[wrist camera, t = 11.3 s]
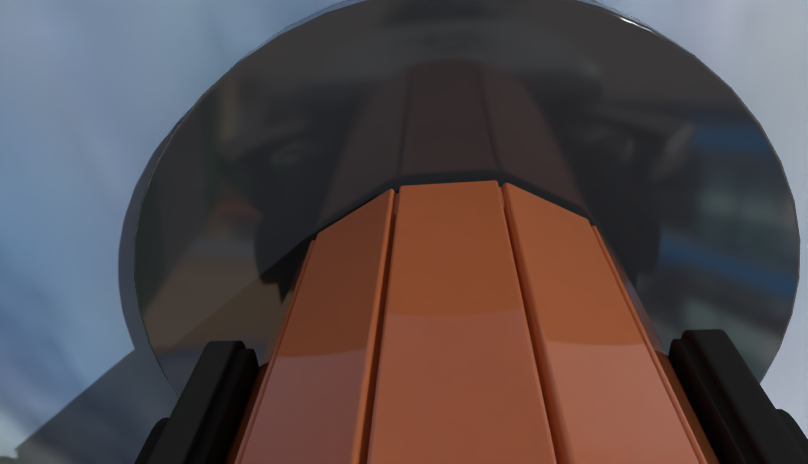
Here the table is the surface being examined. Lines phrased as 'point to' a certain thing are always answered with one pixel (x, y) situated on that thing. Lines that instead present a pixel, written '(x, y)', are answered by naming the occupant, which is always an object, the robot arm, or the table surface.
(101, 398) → the table surface
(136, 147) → the table surface
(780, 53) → the table surface
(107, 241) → the table surface
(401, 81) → the saucer
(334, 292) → the wooden mug
